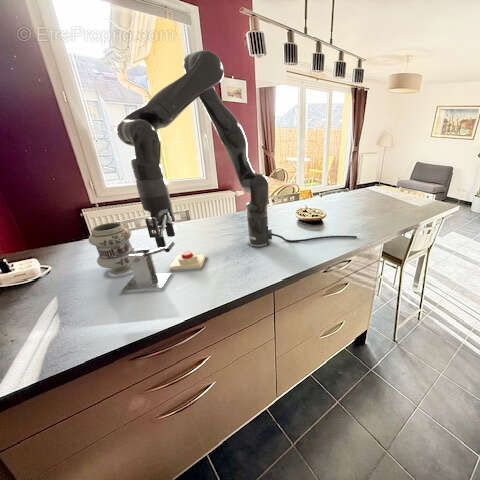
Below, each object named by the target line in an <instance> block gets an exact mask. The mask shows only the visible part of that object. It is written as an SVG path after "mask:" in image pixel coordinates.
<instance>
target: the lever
mask: <svg viewBox="0 0 480 480" xmlns="http://www.w3.org/2000/svg"><path fill="white" fill-rule="evenodd" d="M174 246H175V242H174V241H170V242H169V243H168V245H166V246H165V247H164V248H156V249H153V250H150V252H147V253H145V252H144V251H142V252H139V253H135V254H144V255H145V259H146V258H147V257H148V256H150V255H151V256H153V255H156V254H159V253H163V252H165V253H169V252H171V250H172V249H173V248H174Z"/></svg>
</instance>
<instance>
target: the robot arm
mask: <svg viewBox="0 0 480 480" xmlns="http://www.w3.org/2000/svg"><path fill="white" fill-rule="evenodd" d="M183 70H184V73H185V74H183V75H182V76H180V77H179V78H177V79H176V80H174V81H173V82H170V83H169V84H168V85H166V86H164V87H163V88H162V89H160V90H159V91H158V92H156V93H155V94H154V95H152V97H151V98H150V99H148V101H146V103H145V104H143V105H142V106H141V107H139V108H137V109H135V110H133V111H132V112H131V113H128V114H127V115H126V116H124V117H123V118H122V119H121V120H120V121H119V122H118V123H117V126H116V135H117V137H118V138H119V140H120V141H121V142H122V143H124V144H125V145H127V146H131V147H134V155H135V156H134V157H132V159H130V164H131V168H132V172H133V176H134V178H135V184H136V189H137V192H138V196H139V200H140V202H141V207H142V209H143V210H144V211H146V212H149V215H150V217H147V218H146V217H145V224H146V229H147V231H148V236H149V238H150V239H153V238H154V240H155V243H156V247H157V249H159V248H164V247H165V246H167V244H166V240H165V236H164V230H165V232H166V237H168V238H170V237H175V236H176V233H175V228H174V223H175V222H176V219H175V215H174V212H173V208H172V206H173V205H172V200H171V197H170V192H169V188H168V184H167V181H166V179H165V176H164V171H163V167H162V164H161V156H162V144H161V143H162V142H161V137H160V134H159V132H158V130H159V129H163V128H167V127H168V126H170V125H171V124H172V123H173V122H174V121H175V120H176V119H177V118H178V117H179V116H180V115H181V114H182V113H183V112H184V111H185V110H186V109H187V108H188V107H189V106H190V105H191V104H192V103H193V102H194V101H195V100H196V99H198V98H199V100H200V102H201V103H202V106H203V107H204V109H205V111H206V113H207V115H208V117H209V119H210V121H211V123H212V125H213V128H214V130H215V131H216V134H217V136H218V138H219V140H220V142H221V144H222V146H223V148H224V150H225V152H226V154H227V156H228V158H229V161H230V162H231V165H232V166H233V169H234V171H235V174H236V177H237V180H238V182H239V185H240V187H241V188H242V190H243V191H244V192H245V193H247V194H250V201H247V202H246V203H245V209H246V221H247V231H248V243H249V245H250V246H251V247H254V248H261V247H266V246H270V240H273V237H277V238H280V239H282V240H283V241H284V242H287V243H298V242H309V241H313V240H321V239H333V238H334V239H335V238H347V239H357V238H358V237H357V236H356V235H326V236H323V235H322V236H316V237H309V238H303V239H287V238H285V237H284V236H282V235H279V234H278V233H277V234H276V233H273V232H272V228H271V229H270V228H269V218H268V217H269V216H268V204H269V199H270V197H269V196H270V195H269V191H270V190H269V182H268V181H269V180H268V178H267V177H266V176H265V175H264V174H262V173H257V172H255V171H254V169H253V168H252V166H251V163H250V161H249V158H248V140H247V137H246V135H245V132H244V129H243V127H242V125H241V122H240V121H239V120H238V118H237V117H236V116H235V115H234V113H232V111H231V110H230V109H229V108H228V107H227V106H226V105H225V103H223V101H222V99H221V98H220V96H219V94H218V92H217V89H216V88H215V86H216V85H218V84H219V83H221V82H222V81H223V79H224V76H225V68H224V64H223V62H222V60H221V58H220V57H219V56H218V55H217V54H216V53H215V52H213V51H212V50H208V49H202V50H197V51H195V52H191V53H189V54H187V55H185V56H184V58H183Z"/></svg>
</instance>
